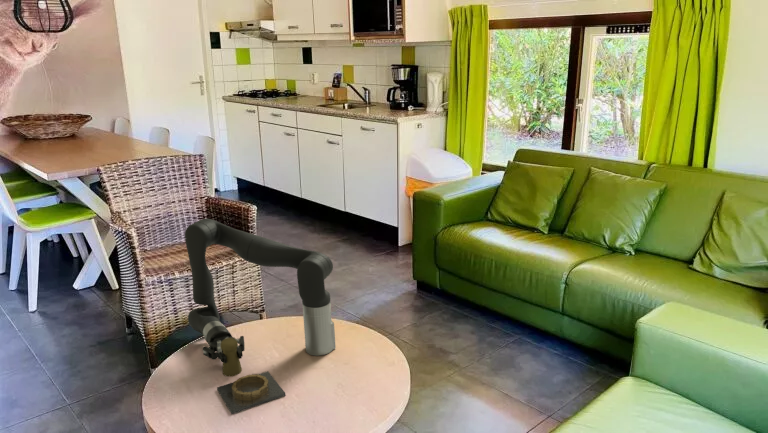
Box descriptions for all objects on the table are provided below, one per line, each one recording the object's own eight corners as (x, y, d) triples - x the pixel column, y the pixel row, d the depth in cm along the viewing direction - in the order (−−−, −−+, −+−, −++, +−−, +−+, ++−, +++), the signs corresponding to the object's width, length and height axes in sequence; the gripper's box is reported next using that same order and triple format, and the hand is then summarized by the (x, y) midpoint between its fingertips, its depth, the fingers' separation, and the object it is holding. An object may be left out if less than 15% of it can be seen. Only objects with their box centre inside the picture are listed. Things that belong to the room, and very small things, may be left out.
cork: (236, 377, 179) (233, 345, 176) (218, 375, 180) (214, 344, 177) (245, 366, 184) (241, 336, 181) (227, 365, 186) (224, 334, 182)
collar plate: (268, 374, 180) (267, 365, 179) (285, 395, 169) (284, 386, 168) (217, 390, 172) (216, 381, 171) (231, 414, 161) (230, 405, 160)
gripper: (194, 331, 188) (208, 354, 173) (236, 320, 195) (254, 340, 181) (196, 352, 190) (211, 375, 176) (239, 339, 197) (256, 362, 183)
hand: (233, 358), depth 178 cm, fingers closed on cork, 4 cm apart
